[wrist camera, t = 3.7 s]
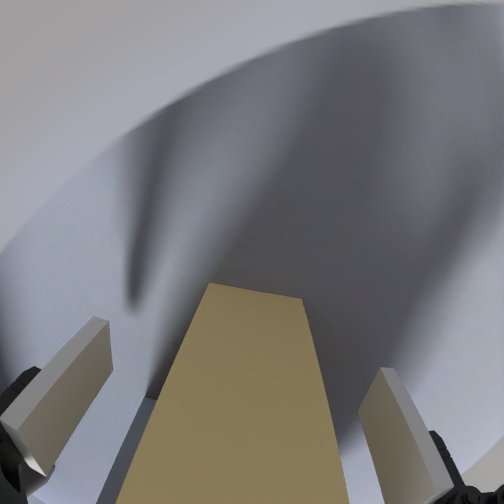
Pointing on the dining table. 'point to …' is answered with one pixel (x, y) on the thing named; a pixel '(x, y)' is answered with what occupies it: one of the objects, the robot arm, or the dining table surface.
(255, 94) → the dining table surface
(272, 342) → the upright yellow slab
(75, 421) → the robot arm
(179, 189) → the dining table surface
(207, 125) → the dining table surface
